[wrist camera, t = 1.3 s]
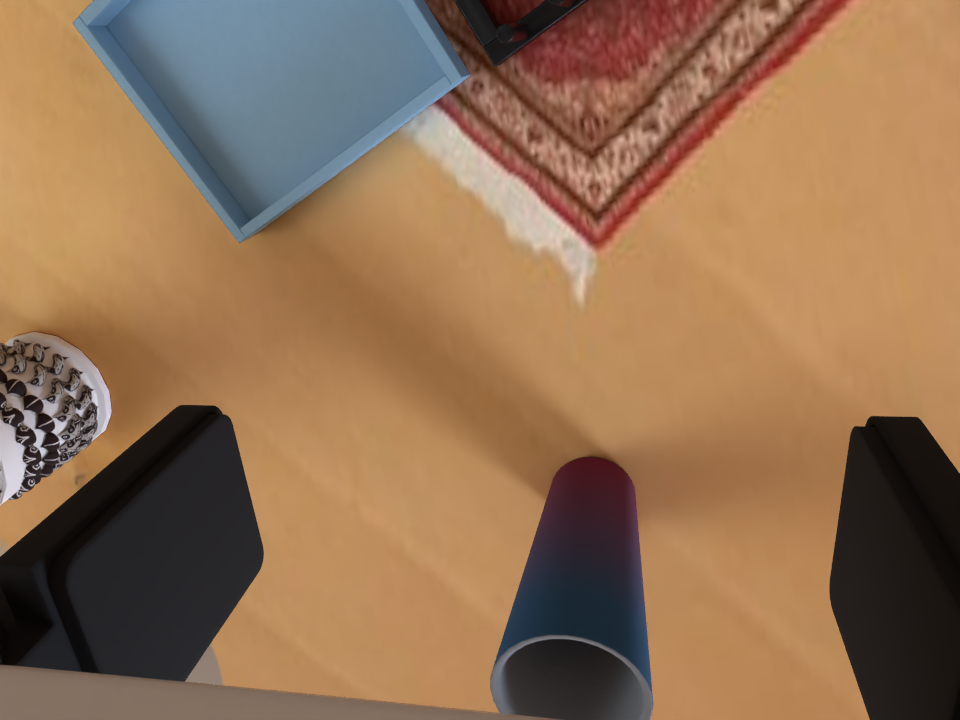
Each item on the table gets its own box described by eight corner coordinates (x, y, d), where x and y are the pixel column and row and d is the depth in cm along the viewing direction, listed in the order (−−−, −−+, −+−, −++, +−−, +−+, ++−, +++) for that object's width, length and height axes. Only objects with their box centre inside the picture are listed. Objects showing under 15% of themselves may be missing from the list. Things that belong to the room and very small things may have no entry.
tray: (305, -191, 32) (286, -203, 31) (471, 75, 36) (462, 78, 34) (96, 22, 38) (71, 22, 37) (255, 234, 42) (238, 243, 40)
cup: (532, 442, 43) (482, 628, 30) (650, 444, 42) (653, 642, 29) (540, 536, 46) (497, 745, 33) (650, 541, 45) (653, 762, 31)
